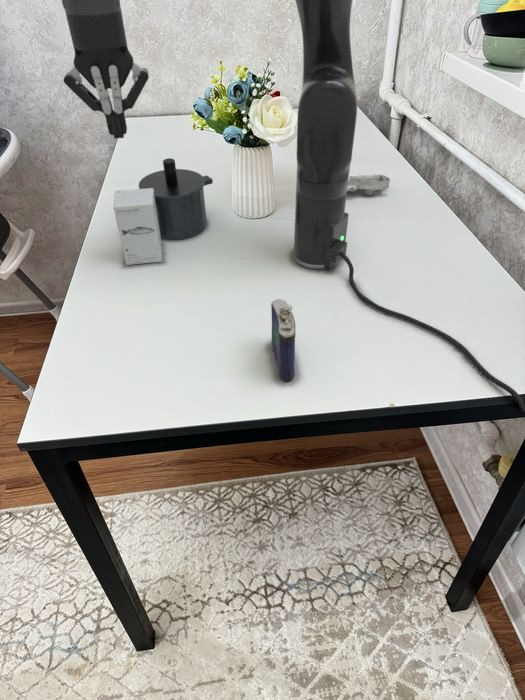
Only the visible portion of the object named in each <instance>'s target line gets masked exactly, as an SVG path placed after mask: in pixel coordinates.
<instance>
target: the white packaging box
mask: <svg viewBox="0 0 525 700" xmlns="http://www.w3.org/2000/svg"><path fill="white" fill-rule="evenodd" d="M113 211H114V217H115V221H116V225H117V229H118V234H119V235H118V236H119V238H120V243H121V249H122V253H123V257H124V262H125V265H126V266H133V265H140V264H141V265H142V264H151V263H163V248H162V246H163V245H162V239H161V237H160V230H159V223H158V217H157V211H156V204H155V197H154V189H153V188H147V189H139V188H136V189H122V190H121V189H120V190H115V191H114V200H113Z"/></svg>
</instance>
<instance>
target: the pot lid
mask: <svg viewBox="0 0 525 700" xmlns="http://www.w3.org/2000/svg"><path fill="white" fill-rule="evenodd" d="M162 167H163V170H158V171H154V172H152V173H149V174H147V175H145V176H144V177H142V178H141V179H140V180H139V182H138V189H147V188H153V189H154V197H155V198H157V199H176V198H182V197H186V196H190V195H192V194H195V193H197V192H198V191H200V190H201V189H202V188H203V189H204V187H205V186H204V184H205V180H204V178H203V175H202V174H201V173H199V172H197V171H194V170H190V169H183V168H177V167H176V160H175V159H174V158H165V159H163V160H162Z"/></svg>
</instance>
